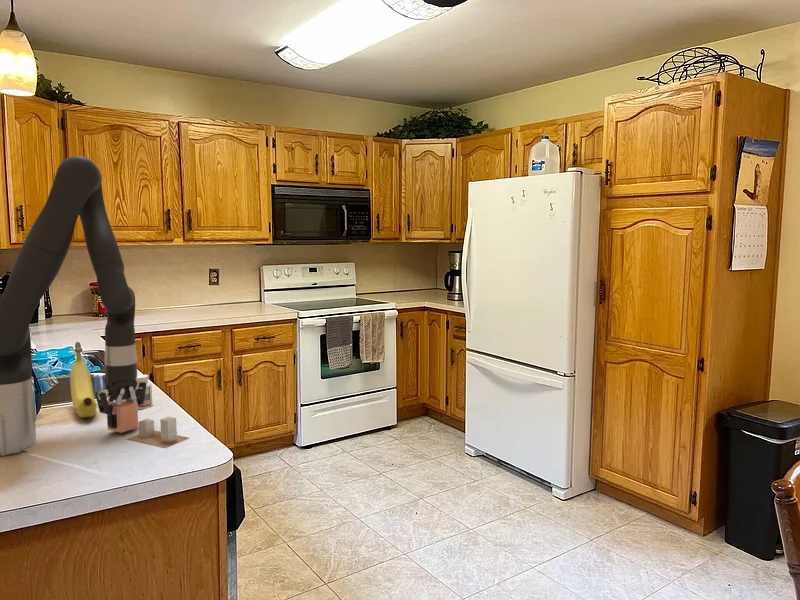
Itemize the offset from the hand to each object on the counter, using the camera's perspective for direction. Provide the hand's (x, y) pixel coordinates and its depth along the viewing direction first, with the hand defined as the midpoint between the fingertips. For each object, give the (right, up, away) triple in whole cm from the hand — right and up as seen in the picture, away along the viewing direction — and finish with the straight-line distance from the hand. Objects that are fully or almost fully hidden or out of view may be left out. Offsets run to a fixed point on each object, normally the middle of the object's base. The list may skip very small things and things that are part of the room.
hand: (122, 424), depth 153 cm
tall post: (+15, -3, -6) cm, 16 cm away
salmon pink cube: (0, -1, 0) cm, 1 cm away
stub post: (+8, -2, -3) cm, 8 cm away
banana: (-20, -1, +18) cm, 27 cm away
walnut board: (+11, -3, -5) cm, 12 cm away
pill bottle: (-6, 0, +25) cm, 25 cm away
